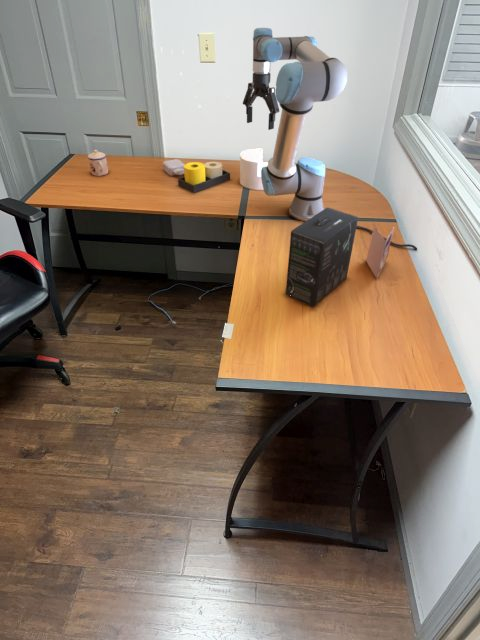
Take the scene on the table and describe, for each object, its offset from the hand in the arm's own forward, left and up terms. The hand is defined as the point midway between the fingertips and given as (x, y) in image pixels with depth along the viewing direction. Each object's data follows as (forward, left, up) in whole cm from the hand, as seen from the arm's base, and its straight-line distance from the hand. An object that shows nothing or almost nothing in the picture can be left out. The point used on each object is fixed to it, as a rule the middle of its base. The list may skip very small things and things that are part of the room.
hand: (260, 125), depth 196 cm
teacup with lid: (+68, +48, -29) cm, 88 cm away
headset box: (-73, +45, -29) cm, 90 cm away
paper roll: (+22, +10, -29) cm, 38 cm away
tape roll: (+22, +22, -28) cm, 42 cm away
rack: (+22, +16, -29) cm, 40 cm away
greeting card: (-80, +21, -29) cm, 88 cm away
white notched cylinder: (+4, -5, -29) cm, 30 cm away
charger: (+41, +19, -29) cm, 54 cm away
